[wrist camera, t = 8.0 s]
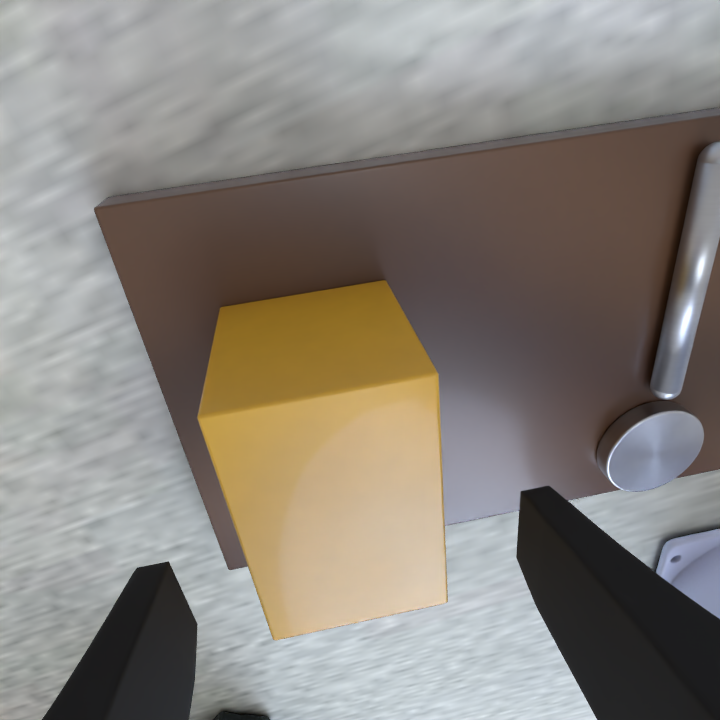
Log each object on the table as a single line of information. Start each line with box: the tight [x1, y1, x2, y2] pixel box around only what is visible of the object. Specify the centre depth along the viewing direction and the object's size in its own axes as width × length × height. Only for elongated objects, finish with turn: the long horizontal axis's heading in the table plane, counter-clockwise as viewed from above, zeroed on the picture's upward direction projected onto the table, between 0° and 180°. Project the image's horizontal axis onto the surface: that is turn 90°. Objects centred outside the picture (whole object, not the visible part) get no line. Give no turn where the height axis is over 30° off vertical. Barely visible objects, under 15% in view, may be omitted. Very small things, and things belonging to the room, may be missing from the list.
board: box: [94, 108, 720, 570], centre depth 16 cm, size 13×20×1 cm, turn 97°
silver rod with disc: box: [597, 141, 720, 492], centre depth 16 cm, size 12×4×1 cm, turn 7°
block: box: [197, 280, 448, 640], centre depth 13 cm, size 7×4×5 cm, turn 7°
